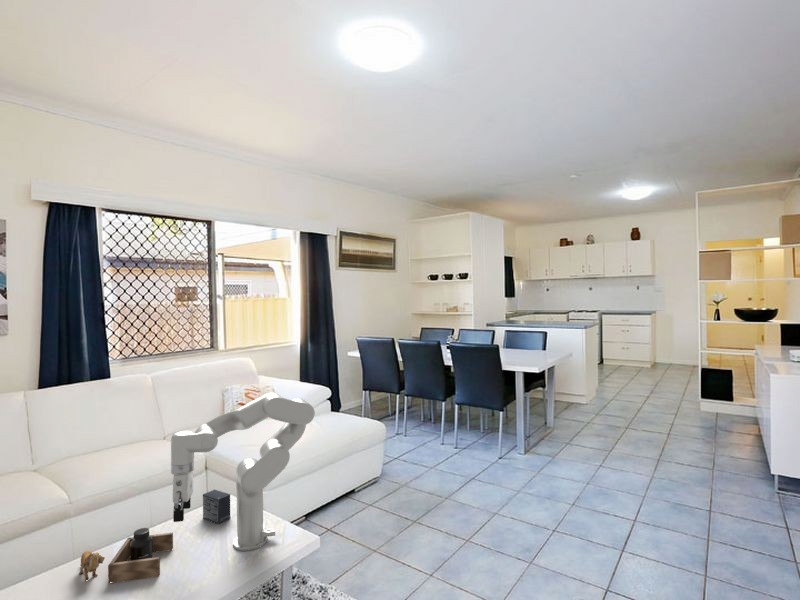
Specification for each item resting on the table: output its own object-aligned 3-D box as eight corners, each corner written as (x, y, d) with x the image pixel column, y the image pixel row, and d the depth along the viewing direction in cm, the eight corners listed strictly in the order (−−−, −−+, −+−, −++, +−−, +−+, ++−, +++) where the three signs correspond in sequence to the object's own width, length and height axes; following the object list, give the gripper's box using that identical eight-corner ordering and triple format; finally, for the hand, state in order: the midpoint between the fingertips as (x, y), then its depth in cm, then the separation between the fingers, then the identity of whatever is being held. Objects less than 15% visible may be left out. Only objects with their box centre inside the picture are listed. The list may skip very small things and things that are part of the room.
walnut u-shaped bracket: (173, 548, 166) (172, 532, 166) (158, 576, 149) (158, 558, 149) (128, 554, 163) (128, 537, 163) (108, 583, 146) (108, 565, 146)
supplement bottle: (142, 572, 152) (141, 537, 152) (125, 569, 153) (124, 535, 153) (157, 560, 159) (156, 527, 159) (140, 558, 160) (140, 525, 160)
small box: (231, 518, 189) (231, 493, 189) (218, 524, 183) (218, 499, 183) (215, 512, 194) (215, 488, 194) (202, 518, 189) (201, 494, 189)
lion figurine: (106, 578, 149) (106, 551, 149) (88, 586, 145) (88, 559, 145) (88, 563, 158) (88, 538, 158) (71, 571, 153) (70, 545, 153)
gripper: (188, 475, 151) (187, 525, 151) (199, 457, 168) (198, 503, 168) (164, 477, 150) (163, 527, 150) (177, 459, 167) (177, 504, 167)
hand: (182, 514), depth 159 cm, fingers open, 9 cm apart
